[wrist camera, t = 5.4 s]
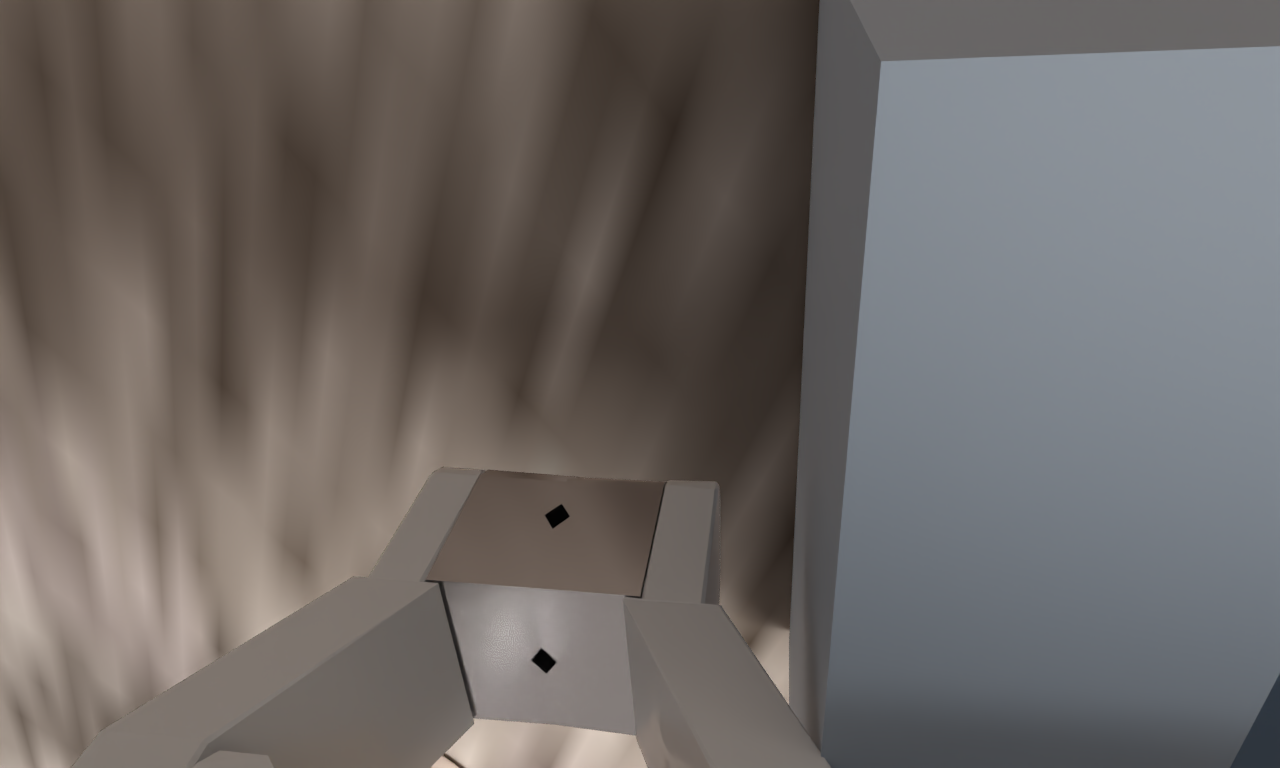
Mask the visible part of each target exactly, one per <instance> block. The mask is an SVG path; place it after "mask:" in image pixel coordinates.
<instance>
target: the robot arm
mask: <svg viewBox="0 0 1280 768" xmlns="http://www.w3.org/2000/svg"><path fill="white" fill-rule="evenodd" d="M719 600H720V487H719V485H718V483H717V482H716V481H681V480H669V481H668V482H667V481H647V480H626V479H606V478H586V477H576V476H563V475H550V474H537V473H524V472H511V471H498V470H487V471H484V470H477V469H463V468H448V467H442V468H440V469H438V470H436V471H434V472H433V473H432V474H431V475H430V476H429V478H428V479H427V481H426V483H425V484H424V486H423V488H422V489H421V491H420V492H419V494H418V496H417V497H416V499H415V501H414V502H413V504H412V506H411V507H410V509H409V511H408V512H407V514H406V515H405V517H404V519H403V520H402V522H401V524H400V525H399V527H398V529H397V530H396V532H395V533H394V535H393V537H392V538H391V540H390V542H389V543H388V545H387V547H386V548H385V550H384V552H383V553H382V555H381V556H380V558H379V560H378V561H377V563H376V565H375V566H374V568H373V570H372V571H371V573H370V574H369V576H368V577H354V576H353V577H352V578H350V579H348V580H347V581H345V582H344V583H342V584H340V585H339V586H337V587H335V588H334V589H332V590H330V591H329V592H327V593H325V594H324V595H322V596H321V597H319V598H317V599H316V600H314V601H312V602H311V603H309V604H307V605H306V606H304V607H303V608H301V609H299V610H298V611H296V612H294V613H293V614H291V615H289V616H288V617H286V618H285V619H283V620H281V621H280V622H278V623H276V624H275V625H273V626H271V627H270V628H268V629H267V630H265V631H263V632H262V633H260V634H258V635H257V636H255V637H253V638H252V639H250V640H248V641H247V642H245V643H244V644H242V645H240V646H239V647H237V648H235V649H234V650H232V651H230V652H229V653H227V654H226V655H224V656H222V657H221V658H219V659H217V660H216V661H214V662H212V663H211V664H209V665H208V666H206V667H204V668H203V669H201V670H199V671H198V672H196V673H194V674H193V675H191V676H190V677H188V678H186V679H185V680H183V681H181V682H180V683H178V684H176V685H175V686H173V687H171V688H170V689H168V690H167V691H165V692H163V693H162V694H160V695H158V696H157V697H155V698H153V699H152V700H150V701H149V702H147V703H145V704H144V705H142V706H140V707H139V708H137V709H135V710H134V711H132V712H131V713H129V714H127V715H126V716H124V717H122V718H121V719H119V720H117V721H116V722H114V723H113V724H111V725H109V726H108V727H106V728H104V729H103V730H101V731H100V732H99V734H98V735H97V736H96V737H95V739H94V740H93V741H92V742H91V743H90V745H89V746H88V747H87V748H86V750H85V751H84V752H83V753H82V755H81V756H80V757H79V758H78V759H77V761H76V762H75V763H74V764H73V766H72V767H71V768H430V767H431V766H432V765H433V764H434V763H435V762H436V761H437V760H438V759H439V758H440V757H441V756H442V755H443V754H444V753H445V752H446V751H447V750H448V749H449V748H450V747H451V746H452V745H453V744H454V743H455V742H456V741H457V740H458V739H459V738H460V737H461V736H462V735H463V734H464V733H465V732H466V731H467V730H468V729H469V728H470V727H471V726H472V725H473V724H474V720H473V718H477V719H490V720H503V721H516V722H529V723H542V724H555V725H562V726H569V727H577V728H584V729H592V730H599V731H607V732H614V733H622V734H629V735H636V738H637V742H638V744H639V747H640V749H641V752H642V754H643V757H644V759H645V762H646V764H647V767H648V768H831V767H830V765H829V764H828V762H827V761H826V759H825V758H824V757H821V752H820V750H819V749H818V748H817V746H816V745H815V743H814V742H813V740H812V739H811V737H810V736H809V734H808V733H807V731H806V730H805V728H804V727H803V725H802V724H801V723H800V721H799V720H798V718H797V717H796V715H795V714H794V712H793V711H792V709H791V708H790V706H789V705H788V703H787V702H786V700H785V699H784V698H783V696H782V695H781V693H780V692H779V690H778V689H777V687H776V686H775V684H774V683H773V681H772V680H771V678H770V677H769V675H768V674H767V673H766V671H765V670H764V668H763V667H762V665H761V664H760V662H759V661H758V659H757V658H756V656H755V655H754V653H753V652H752V650H751V649H750V648H749V646H748V645H747V643H746V642H745V640H744V639H743V637H742V636H741V634H740V633H739V631H738V630H737V628H736V627H735V625H734V624H733V623H732V621H731V620H730V618H729V617H728V615H727V614H726V612H725V611H724V609H723V608H722V606H720V605H719Z"/></svg>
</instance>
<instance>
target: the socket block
mask: <svg viewBox="0 0 1280 768" xmlns="http://www.w3.org/2000/svg"><path fill="white" fill-rule="evenodd" d="M789 706H790V708H791V709H792V711H793V712H794V714H795V715H796V717H797V718H798V720H799V721H800V723H801V724H802V725H803V727H804V728H805V730H806V731H807V733H808V734H809V736H810V737H811V739H812V740H813V742H814V743H815V745H816V746H817V748H818V749H819V750H820V752H821V757H824V758H825V759H826V761H827V762H828V764H829V765H830V767H831V768H1280V0H820V3H819V24H818V45H817V66H816V87H815V108H814V129H813V151H812V172H811V193H810V214H809V235H808V256H807V277H806V299H805V320H804V341H803V362H802V383H801V404H800V425H799V446H798V468H797V489H796V510H795V531H794V552H793V573H792V594H791V615H790V637H789Z"/></svg>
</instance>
